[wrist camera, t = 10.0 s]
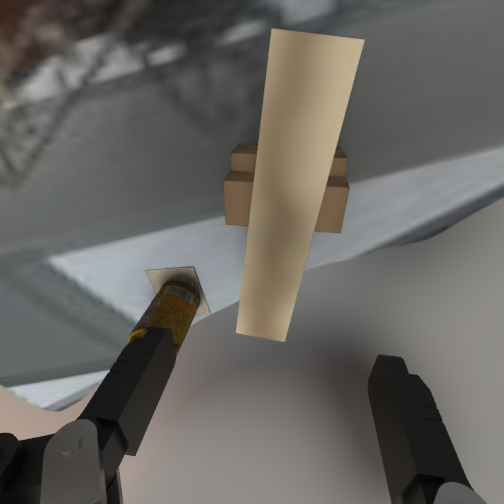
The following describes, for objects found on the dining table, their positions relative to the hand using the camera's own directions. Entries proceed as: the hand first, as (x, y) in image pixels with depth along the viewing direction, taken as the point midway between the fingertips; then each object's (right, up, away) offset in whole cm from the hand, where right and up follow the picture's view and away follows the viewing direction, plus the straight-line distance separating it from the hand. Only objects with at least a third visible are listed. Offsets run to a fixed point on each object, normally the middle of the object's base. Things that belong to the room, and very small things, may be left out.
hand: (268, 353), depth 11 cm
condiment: (-11, -2, +29) cm, 31 cm away
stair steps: (+3, +11, +18) cm, 22 cm away
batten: (+2, +8, +12) cm, 15 cm away
